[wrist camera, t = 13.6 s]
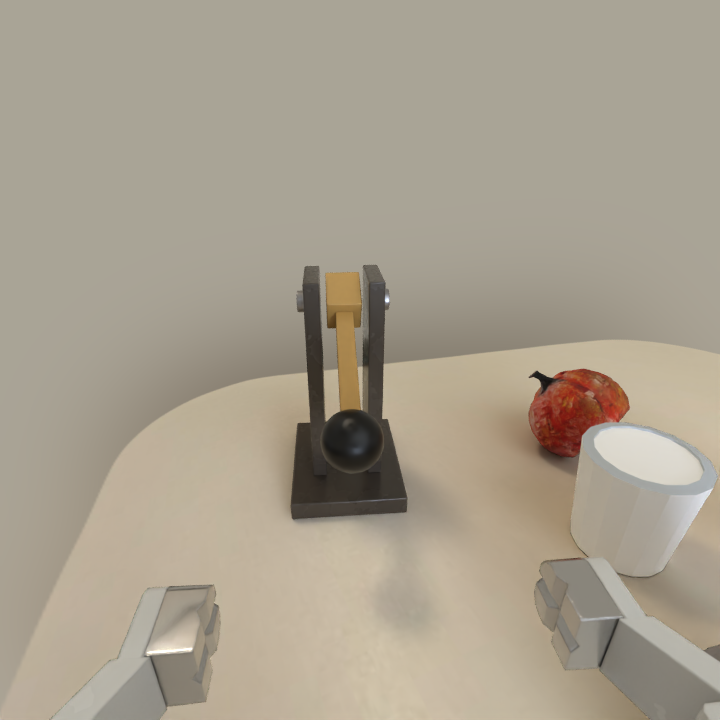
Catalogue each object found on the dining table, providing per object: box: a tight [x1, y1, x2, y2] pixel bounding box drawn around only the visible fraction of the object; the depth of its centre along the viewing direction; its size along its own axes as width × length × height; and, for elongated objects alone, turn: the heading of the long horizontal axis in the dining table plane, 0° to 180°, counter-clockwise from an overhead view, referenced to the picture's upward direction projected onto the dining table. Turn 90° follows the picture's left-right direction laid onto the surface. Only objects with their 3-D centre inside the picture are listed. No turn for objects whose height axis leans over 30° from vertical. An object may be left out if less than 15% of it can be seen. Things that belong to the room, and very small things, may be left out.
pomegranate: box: [529, 369, 630, 457], centre depth 37 cm, size 7×7×10 cm
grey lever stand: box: [291, 265, 407, 519], centre depth 32 cm, size 10×8×16 cm
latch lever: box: [320, 272, 384, 474], centre depth 27 cm, size 13×3×3 cm
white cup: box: [570, 422, 718, 577], centre depth 28 cm, size 7×7×7 cm
